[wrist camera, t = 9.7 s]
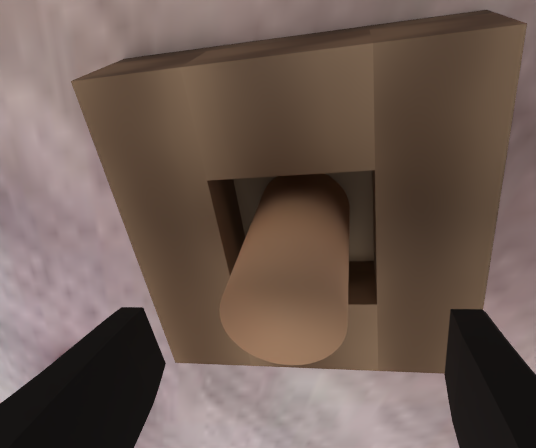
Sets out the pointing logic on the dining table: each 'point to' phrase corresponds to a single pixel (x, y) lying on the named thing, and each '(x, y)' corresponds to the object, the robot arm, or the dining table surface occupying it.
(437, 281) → the socket block
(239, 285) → the peg
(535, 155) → the dining table surface
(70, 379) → the robot arm
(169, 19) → the dining table surface
